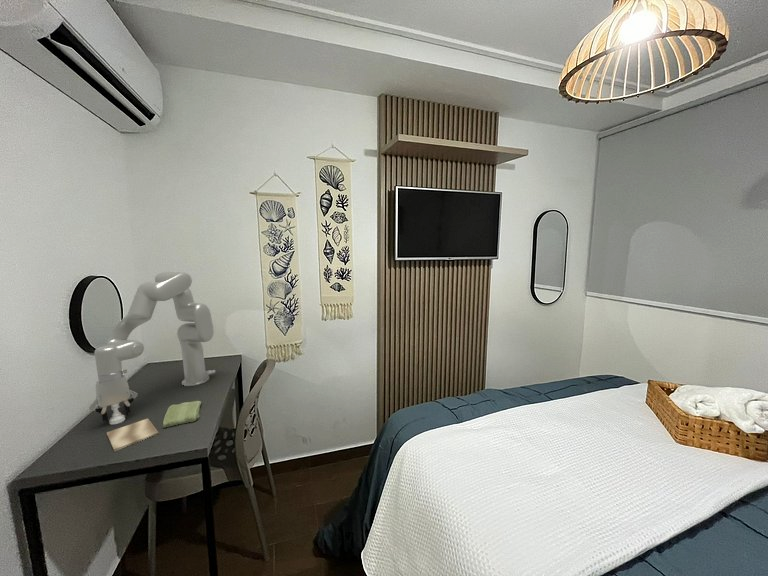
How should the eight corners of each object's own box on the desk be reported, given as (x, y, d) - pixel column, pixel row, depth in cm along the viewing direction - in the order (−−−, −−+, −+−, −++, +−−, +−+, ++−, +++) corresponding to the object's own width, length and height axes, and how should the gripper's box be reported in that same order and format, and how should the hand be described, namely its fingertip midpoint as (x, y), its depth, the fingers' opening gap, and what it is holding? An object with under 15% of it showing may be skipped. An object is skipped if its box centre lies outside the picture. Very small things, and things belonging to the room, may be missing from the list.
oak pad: (148, 420, 130) (147, 418, 130) (158, 434, 120) (158, 432, 120) (106, 434, 121) (106, 432, 121) (114, 451, 110) (114, 449, 110)
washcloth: (202, 403, 144) (201, 396, 144) (198, 422, 128) (198, 414, 128) (168, 410, 139) (167, 403, 138) (160, 431, 123) (159, 423, 122)
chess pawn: (115, 425, 127) (112, 404, 126) (106, 424, 128) (103, 403, 127) (128, 418, 132) (125, 398, 131) (119, 417, 133) (116, 397, 132)
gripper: (135, 367, 136) (140, 407, 139) (80, 380, 124) (87, 424, 126) (139, 371, 131) (144, 412, 134) (82, 386, 119) (89, 431, 121)
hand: (116, 417), depth 130 cm, fingers open, 5 cm apart
